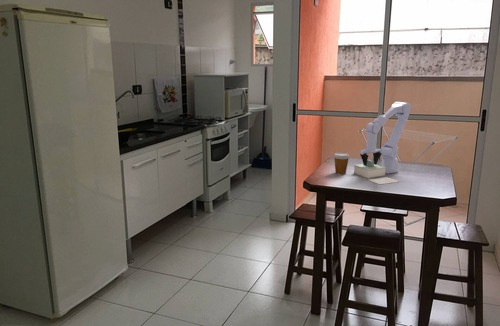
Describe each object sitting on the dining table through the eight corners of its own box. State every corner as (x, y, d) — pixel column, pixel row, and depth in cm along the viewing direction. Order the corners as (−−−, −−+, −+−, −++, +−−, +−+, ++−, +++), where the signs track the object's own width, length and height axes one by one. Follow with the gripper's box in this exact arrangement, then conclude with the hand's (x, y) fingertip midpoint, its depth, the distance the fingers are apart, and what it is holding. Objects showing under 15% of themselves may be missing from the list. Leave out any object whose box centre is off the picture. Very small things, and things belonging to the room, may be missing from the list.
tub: (370, 171, 263) (371, 164, 262) (385, 176, 252) (385, 168, 250) (354, 173, 258) (354, 166, 257) (367, 178, 246) (368, 171, 245)
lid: (371, 165, 262) (371, 157, 261) (385, 170, 251) (386, 161, 249) (354, 167, 257) (354, 159, 256) (368, 172, 246) (368, 163, 244)
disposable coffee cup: (348, 175, 253) (349, 156, 250) (332, 174, 255) (333, 155, 252) (348, 171, 262) (349, 153, 259) (332, 170, 264) (333, 152, 261)
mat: (387, 177, 248) (387, 177, 248) (399, 182, 239) (399, 181, 239) (368, 180, 242) (368, 179, 242) (379, 184, 233) (379, 184, 233)
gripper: (376, 140, 257) (375, 162, 260) (357, 142, 251) (356, 164, 254) (384, 142, 250) (382, 164, 253) (365, 144, 245) (363, 167, 248)
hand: (370, 164), depth 253 cm, fingers open, 7 cm apart
